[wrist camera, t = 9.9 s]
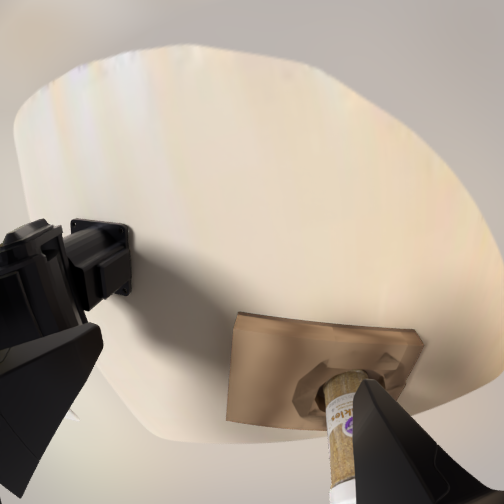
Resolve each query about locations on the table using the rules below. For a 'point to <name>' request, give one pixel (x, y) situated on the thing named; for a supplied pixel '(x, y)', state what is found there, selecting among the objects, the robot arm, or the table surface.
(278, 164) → the table surface
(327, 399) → the sprinkles bottle
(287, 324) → the board
